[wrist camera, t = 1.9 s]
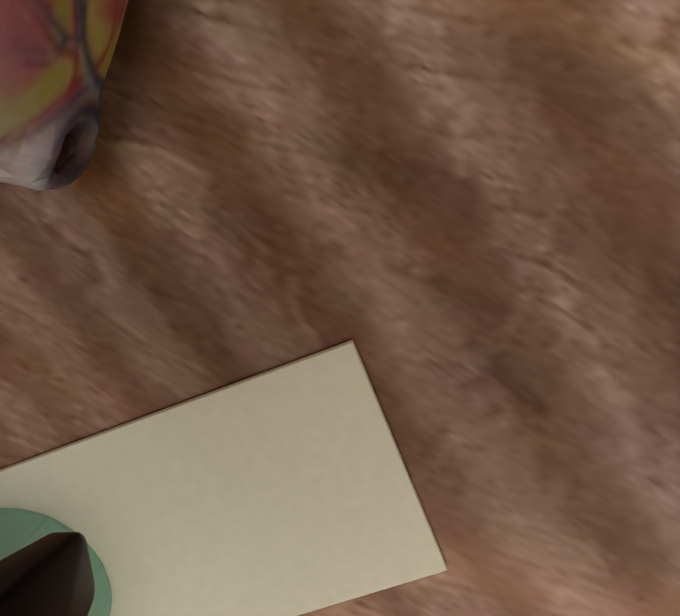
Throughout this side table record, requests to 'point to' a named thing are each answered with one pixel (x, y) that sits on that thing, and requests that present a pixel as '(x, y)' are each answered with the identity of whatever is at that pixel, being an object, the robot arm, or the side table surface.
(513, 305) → the side table surface
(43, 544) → the robot arm
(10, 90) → the anatomical model
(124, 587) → the strip
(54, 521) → the bottle
